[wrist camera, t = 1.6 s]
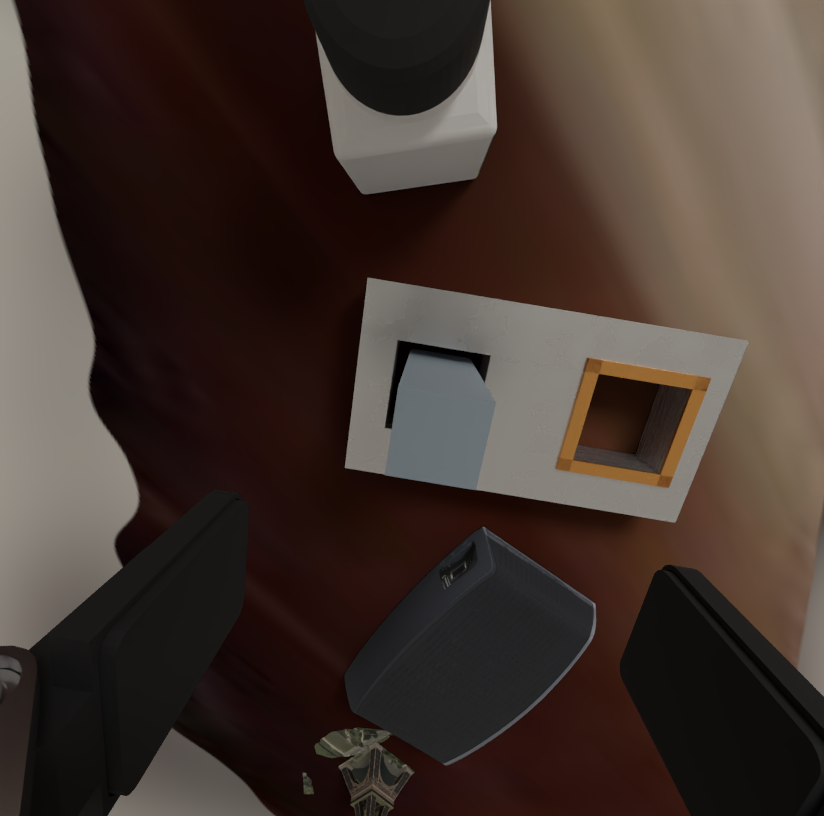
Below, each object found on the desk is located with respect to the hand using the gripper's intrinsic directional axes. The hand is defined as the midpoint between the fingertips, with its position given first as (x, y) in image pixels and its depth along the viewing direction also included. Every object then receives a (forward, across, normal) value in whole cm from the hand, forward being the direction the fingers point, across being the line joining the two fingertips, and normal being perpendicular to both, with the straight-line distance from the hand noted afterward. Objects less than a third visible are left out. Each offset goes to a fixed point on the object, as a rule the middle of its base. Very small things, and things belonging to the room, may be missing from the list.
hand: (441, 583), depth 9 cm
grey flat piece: (+19, -6, -1) cm, 20 cm away
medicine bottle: (+19, +4, -16) cm, 25 cm away
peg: (+19, 0, -1) cm, 19 cm away
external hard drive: (+20, -6, +21) cm, 30 cm away
